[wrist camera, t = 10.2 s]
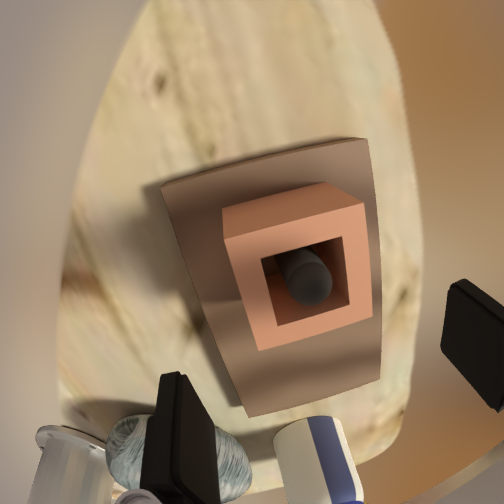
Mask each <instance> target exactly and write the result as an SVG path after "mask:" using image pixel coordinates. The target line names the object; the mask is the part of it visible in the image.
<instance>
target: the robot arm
mask: <svg viewBox="0 0 504 504" xmlns="http://www.w3.org/2000/svg"><path fill="white" fill-rule="evenodd" d="M440 346H441V350H442V352H443V354H444V355H445V356H446V357H447V358H448V359H449V360H450V362H451V363H452V364H453V365H454V366H455V367H456V368H457V369H458V371H459V372H460V373H461V374H462V375H463V376H464V377H465V378H466V380H467V381H468V382H469V383H470V384H471V386H472V387H473V388H474V389H475V390H476V391H477V392H478V394H479V395H480V396H481V397H482V399H483V400H484V401H485V402H486V403H487V405H488V406H489V407H490V408H494V409H495V410H496V411H497V413H499V412H500V411H501V410H503V409H504V306H502V305H501V304H500V303H499V302H497V301H496V300H494V299H493V298H492V297H490V296H489V295H488V294H486V293H485V292H484V291H482V290H481V289H480V288H478V287H477V286H475V285H474V284H473V283H471V282H470V281H468V280H467V279H461V280H459V281H457V282H455V283H453V284H451V286H450V289H449V290H448V294H447V304H446V311H445V319H444V326H443V333H442V338H441V344H440ZM36 442H37V445H38V446H39V448H40V449H41V450H42V452H43V454H42V456H41V460H40V462H39V465H38V469H37V472H36V475H35V478H34V482H33V485H32V488H31V492H30V495H29V499H28V503H27V504H111V498H112V491H113V485H114V482H115V479H114V478H113V477H112V476H111V474H110V472H109V470H108V466H107V463H106V456H105V448H106V444H105V443H103V442H101V441H99V440H97V439H96V438H94V437H91V436H89V435H87V434H85V433H82V432H79V431H76V430H73V429H70V428H66V427H61V426H54V425H48V426H43V427H41V428H40V429H39V430H38V431H37V434H36ZM115 504H221V499H220V488H219V476H218V463H217V449H216V433H215V426H214V423H213V421H212V419H211V418H210V416H209V414H208V413H207V411H206V409H205V407H204V406H203V404H202V402H201V400H200V399H199V397H198V395H197V393H196V391H195V390H194V388H193V386H192V384H191V382H190V380H189V379H188V377H187V375H186V374H184V375H181V374H180V372H179V371H176V372H171V373H166V374H162V375H161V377H160V382H159V389H158V396H157V403H156V411H155V415H151V416H149V418H148V420H147V426H146V433H145V441H144V449H143V457H142V466H141V475H140V485H139V489H132V490H128V491H126V492H124V493H123V494H122V495H121V496H119V497H118V499H117V500H116V502H115ZM401 504H504V440H503V441H502V442H501V443H499V444H498V445H497V446H496V447H494V448H493V449H492V450H490V451H489V452H488V453H486V454H485V455H483V456H482V457H480V458H479V459H478V460H476V461H475V462H473V463H472V464H470V465H469V466H467V467H466V468H464V469H463V470H461V471H460V472H458V473H456V474H455V475H453V476H451V477H450V478H448V479H446V480H445V481H443V482H441V483H440V484H438V485H436V486H434V487H432V488H431V489H429V490H427V491H425V492H423V493H422V494H419V495H417V496H415V497H413V498H411V499H410V500H407V501H405V502H403V503H401Z"/></svg>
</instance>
